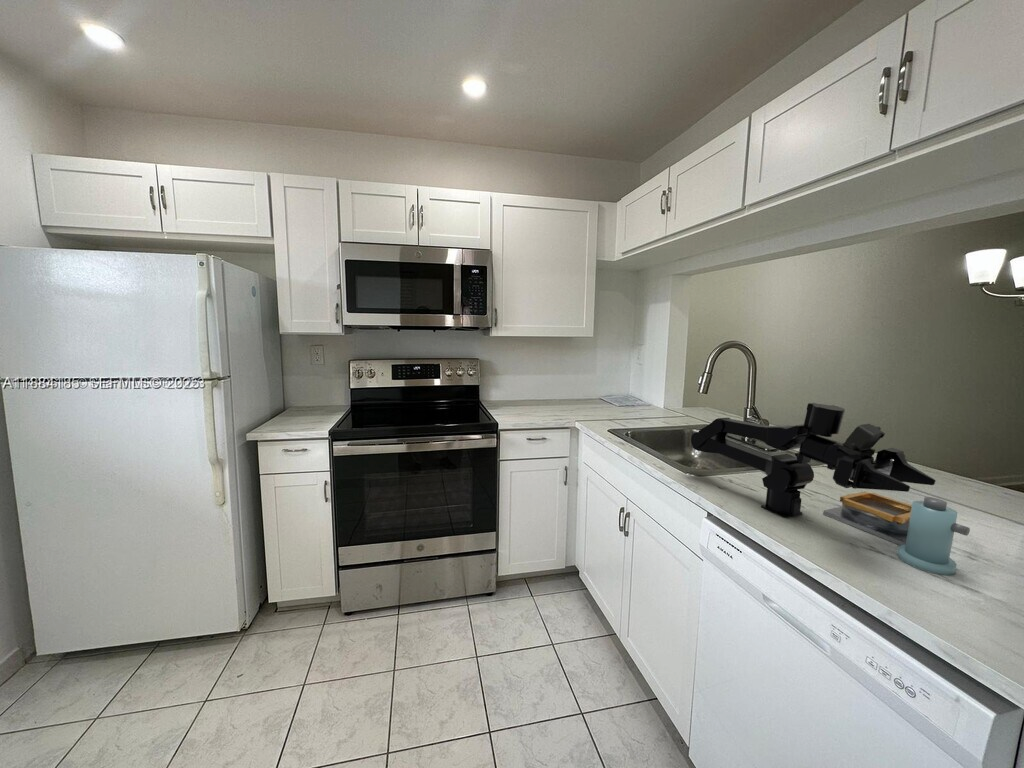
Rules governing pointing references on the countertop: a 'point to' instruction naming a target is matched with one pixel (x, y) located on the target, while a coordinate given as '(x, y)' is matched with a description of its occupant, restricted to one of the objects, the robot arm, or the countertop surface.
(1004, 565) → the countertop surface
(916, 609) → the countertop surface
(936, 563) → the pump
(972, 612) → the countertop surface
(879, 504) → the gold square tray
